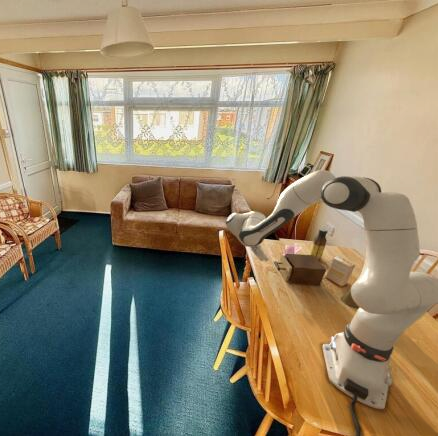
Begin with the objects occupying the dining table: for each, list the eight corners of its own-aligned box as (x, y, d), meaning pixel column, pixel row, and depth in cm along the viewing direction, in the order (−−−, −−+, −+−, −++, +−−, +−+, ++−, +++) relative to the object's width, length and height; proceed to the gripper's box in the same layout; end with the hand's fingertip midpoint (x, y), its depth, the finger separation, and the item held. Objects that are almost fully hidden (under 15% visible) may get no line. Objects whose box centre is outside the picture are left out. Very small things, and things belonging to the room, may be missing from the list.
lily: (284, 251, 149) (280, 241, 145) (305, 251, 141) (302, 240, 137) (282, 265, 142) (278, 255, 138) (305, 266, 134) (301, 254, 130)
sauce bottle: (320, 256, 142) (331, 229, 133) (320, 262, 137) (332, 233, 129) (307, 253, 145) (317, 226, 137) (307, 258, 140) (318, 230, 132)
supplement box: (346, 284, 120) (356, 264, 114) (341, 287, 118) (350, 266, 112) (330, 275, 127) (339, 255, 121) (324, 277, 125) (333, 257, 119)
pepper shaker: (362, 307, 105) (372, 289, 101) (347, 305, 107) (356, 287, 102) (354, 298, 111) (363, 280, 106) (340, 296, 112) (348, 278, 107)
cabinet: (289, 283, 121) (295, 267, 116) (280, 268, 132) (285, 253, 127) (319, 285, 119) (326, 269, 114) (307, 270, 130) (313, 255, 126)
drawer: (277, 280, 122) (281, 267, 118) (269, 267, 132) (273, 254, 128) (312, 283, 119) (318, 269, 116) (302, 269, 130) (307, 256, 126)
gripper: (260, 245, 109) (276, 263, 112) (248, 225, 127) (263, 241, 130) (248, 252, 111) (265, 270, 114) (238, 232, 129) (253, 247, 133)
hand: (264, 254), depth 122 cm, fingers open, 8 cm apart
